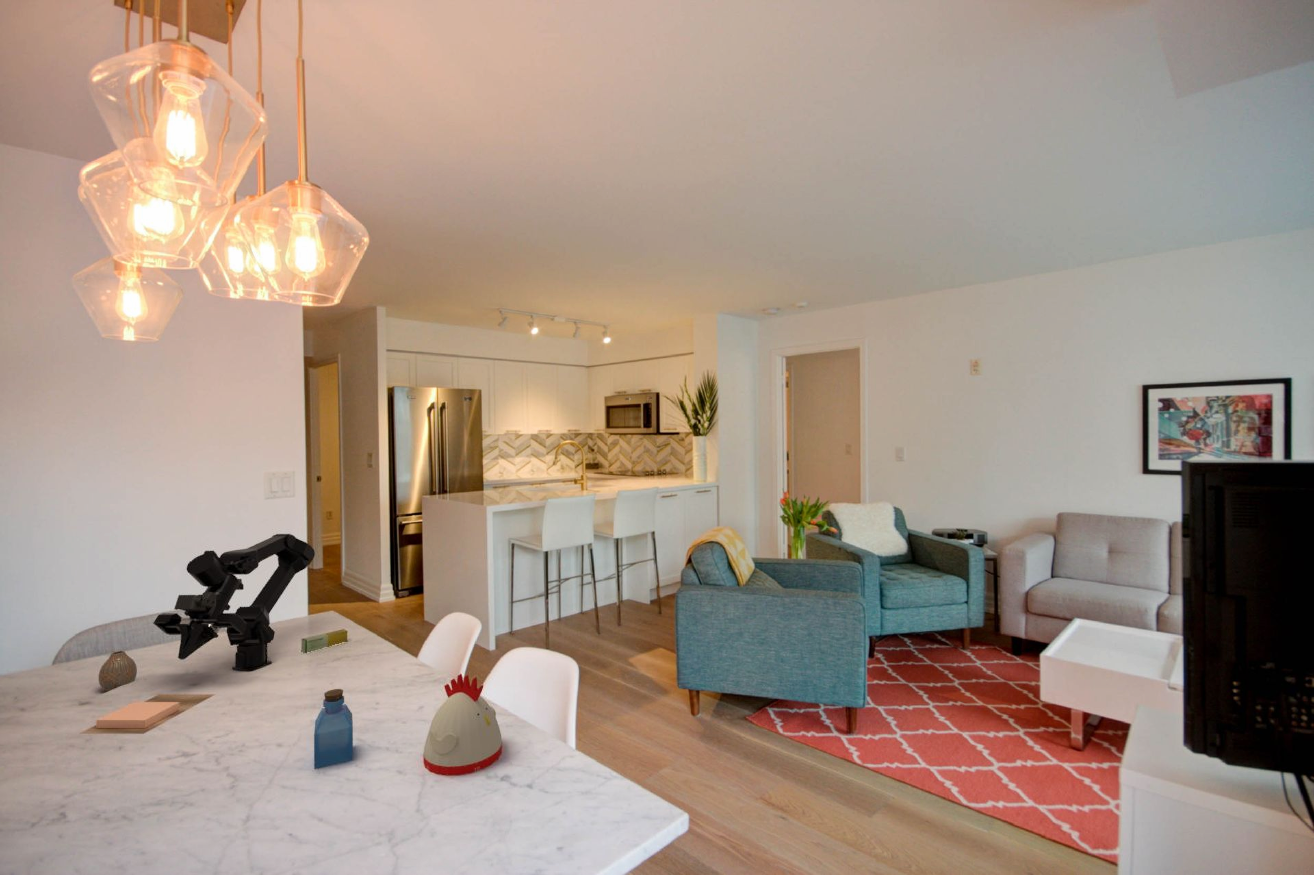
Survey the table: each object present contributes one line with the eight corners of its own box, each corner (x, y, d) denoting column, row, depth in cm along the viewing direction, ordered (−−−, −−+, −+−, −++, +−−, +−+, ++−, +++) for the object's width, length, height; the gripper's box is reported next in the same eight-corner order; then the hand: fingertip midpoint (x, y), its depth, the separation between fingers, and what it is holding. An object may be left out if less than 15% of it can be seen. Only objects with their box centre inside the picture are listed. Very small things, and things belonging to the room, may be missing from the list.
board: (159, 700, 139) (159, 694, 139) (215, 701, 139) (215, 694, 139) (79, 740, 120) (79, 733, 120) (143, 741, 120) (143, 733, 120)
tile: (133, 702, 131) (96, 720, 122) (179, 702, 131) (145, 720, 122) (133, 710, 131) (96, 728, 122) (179, 710, 131) (145, 728, 122)
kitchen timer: (470, 782, 105) (470, 694, 105) (406, 768, 109) (406, 684, 109) (516, 744, 118) (515, 666, 118) (457, 733, 122) (457, 658, 123)
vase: (144, 683, 149) (144, 647, 150) (116, 695, 143) (116, 657, 143) (119, 682, 150) (118, 647, 150) (90, 694, 143) (90, 656, 143)
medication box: (304, 655, 170) (304, 640, 170) (300, 652, 171) (300, 638, 171) (348, 643, 179) (348, 630, 179) (343, 641, 181) (343, 628, 181)
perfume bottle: (314, 769, 109) (314, 702, 109) (315, 753, 115) (315, 689, 115) (352, 760, 112) (352, 695, 112) (352, 746, 117) (352, 683, 118)
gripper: (159, 579, 143) (117, 642, 132) (237, 579, 142) (201, 642, 131) (186, 603, 151) (148, 664, 140) (260, 603, 150) (228, 665, 139)
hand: (180, 658), depth 137 cm, fingers closed
